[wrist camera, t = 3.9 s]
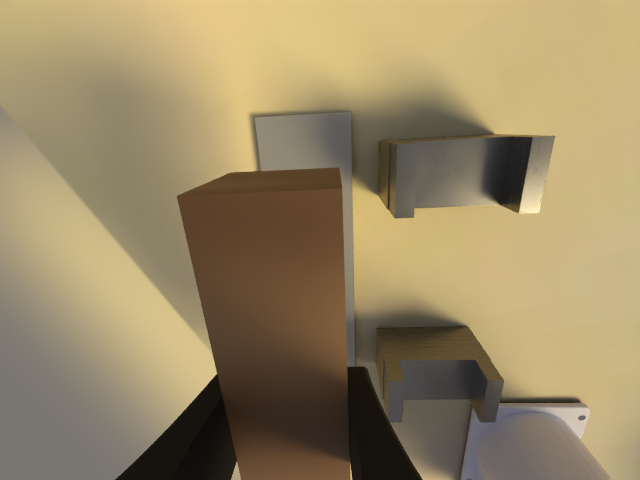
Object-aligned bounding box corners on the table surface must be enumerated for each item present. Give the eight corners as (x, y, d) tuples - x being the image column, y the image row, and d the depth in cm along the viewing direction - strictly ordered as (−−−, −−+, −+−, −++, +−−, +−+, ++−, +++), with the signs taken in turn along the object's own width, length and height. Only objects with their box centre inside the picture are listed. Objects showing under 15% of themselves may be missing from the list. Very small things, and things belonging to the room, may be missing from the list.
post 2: (463, 362, 21) (496, 422, 16) (376, 363, 21) (386, 422, 17) (468, 326, 20) (504, 380, 15) (376, 328, 20) (387, 381, 16)
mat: (355, 379, 22) (355, 383, 21) (287, 380, 22) (286, 383, 22) (350, 111, 15) (351, 111, 15) (256, 117, 16) (254, 117, 15)
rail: (348, 463, 14) (352, 563, 11) (276, 463, 14) (259, 560, 11) (339, 167, 9) (342, 188, 6) (230, 172, 10) (176, 195, 6)
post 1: (487, 191, 16) (540, 212, 12) (378, 196, 17) (393, 218, 13) (495, 134, 15) (556, 135, 11) (379, 140, 16) (395, 144, 12)
